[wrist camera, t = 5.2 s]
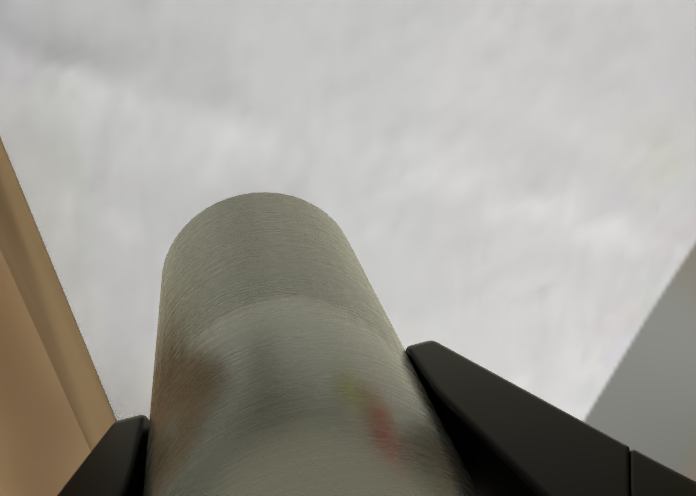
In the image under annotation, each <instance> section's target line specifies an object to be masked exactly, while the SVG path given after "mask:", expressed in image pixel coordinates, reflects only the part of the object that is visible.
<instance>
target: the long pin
mask: <svg viewBox="0 0 696 496" xmlns="http://www.w3.org/2000/svg"><path fill="white" fill-rule="evenodd" d="M143 496H480V494H479V492H478V490H477V488H476V486H475V484H474V483H473V481H472V479H471V477H470V475H469V473H468V471H467V469H466V467H465V465H464V463H463V461H462V459H461V458H460V456H459V454H458V452H457V450H456V448H455V446H454V444H453V442H452V440H451V438H450V436H449V434H448V432H447V431H446V429H445V427H444V425H443V423H442V421H441V419H440V417H439V415H438V413H437V411H436V409H435V407H434V406H433V404H432V402H431V400H430V398H429V396H428V394H427V392H426V390H425V388H424V386H423V384H422V382H421V380H420V379H419V377H418V375H417V373H416V371H415V369H414V367H413V365H412V363H411V361H410V359H409V357H408V355H407V353H406V352H405V350H404V348H403V346H402V344H401V342H400V340H399V338H398V336H397V334H396V332H395V330H394V328H393V327H392V325H391V323H390V321H389V319H388V317H387V315H386V313H385V311H384V309H383V307H382V305H381V303H380V301H379V300H378V298H377V296H376V294H375V292H374V290H373V288H372V286H371V284H370V282H369V280H368V278H367V276H366V275H365V273H364V271H363V269H362V267H361V265H360V263H359V261H358V259H357V257H356V255H355V253H354V251H353V249H352V248H351V246H350V244H349V242H348V240H347V238H346V236H345V235H344V233H343V231H342V230H341V229H340V227H339V226H338V225H337V224H336V222H335V221H334V220H333V219H332V218H330V217H329V216H328V215H327V214H326V213H325V212H323V211H322V210H320V209H319V208H318V207H316V206H314V205H312V204H310V203H308V202H306V201H304V200H301V199H299V198H296V197H293V196H288V195H284V194H278V193H250V194H244V195H239V196H235V197H232V198H228V199H225V200H223V201H221V202H218V203H216V204H214V205H212V206H210V207H209V208H207V209H205V210H204V211H202V212H201V213H199V214H198V215H197V216H196V217H194V218H193V219H192V220H191V221H190V222H189V223H188V224H187V225H186V226H185V227H184V228H183V229H182V230H181V232H180V233H179V234H178V236H177V237H176V238H175V240H174V242H173V244H172V245H171V247H170V249H169V251H168V254H167V257H166V259H165V263H164V267H163V272H162V283H161V295H160V306H159V318H158V329H157V341H156V352H155V364H154V375H153V387H152V398H151V410H150V421H149V433H148V444H147V456H146V467H145V479H144V490H143Z"/></svg>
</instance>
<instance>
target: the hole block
mask: <svg viewBox="0 0 696 496" xmlns="http://www.w3.org/2000/svg"><path fill="white" fill-rule="evenodd" d="M115 422H116V419H115V416H114V414H113V411H112V409H111V406H110V404H109V401H108V399H107V397H106V394H105V392H104V389H103V387H102V384H101V382H100V380H99V377H98V375H97V372H96V370H95V367H94V365H93V363H92V360H91V358H90V355H89V353H88V350H87V348H86V345H85V343H84V341H83V338H82V336H81V333H80V331H79V328H78V326H77V324H76V321H75V319H74V316H73V314H72V311H71V309H70V307H69V304H68V302H67V299H66V297H65V294H64V292H63V289H62V287H61V285H60V282H59V280H58V277H57V275H56V272H55V270H54V268H53V265H52V263H51V260H50V258H49V255H48V253H47V251H46V248H45V246H44V243H43V241H42V238H41V236H40V233H39V231H38V229H37V226H36V224H35V221H34V219H33V216H32V214H31V212H30V209H29V207H28V204H27V202H26V199H25V197H24V195H23V192H22V190H21V187H20V185H19V182H18V180H17V177H16V175H15V173H14V170H13V168H12V165H11V163H10V160H9V158H8V156H7V153H6V151H5V148H4V146H3V143H2V141H1V139H0V496H57V495H58V494H59V492H60V491H61V490H62V488H63V487H64V486H65V485H66V483H67V482H68V481H69V479H70V478H71V477H72V476H73V474H74V473H75V472H76V470H77V469H78V468H79V467H80V465H81V464H82V463H83V461H84V460H85V459H86V458H87V456H88V455H89V454H90V452H91V451H92V450H93V449H94V447H95V446H96V445H97V443H98V442H99V441H100V440H101V438H102V437H103V436H104V434H105V433H106V432H107V431H108V429H109V428H110V427H111V426H112V424H114V423H115Z"/></svg>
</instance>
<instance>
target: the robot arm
mask: <svg viewBox="0 0 696 496" xmlns="http://www.w3.org/2000/svg"><path fill="white" fill-rule="evenodd" d="M405 352H406V353H407V355H408V357H409V359H410V361H411V363H412V365H413V367H414V369H415V371H416V373H417V375H418V377H419V379H420V380H421V382H422V384H423V386H424V388H425V390H426V392H427V394H428V396H429V398H430V400H431V402H432V404H433V406H434V407H435V409H436V411H437V413H438V415H439V417H440V419H441V421H442V423H443V425H444V427H445V429H446V431H447V432H448V434H449V436H450V438H451V440H452V442H453V444H454V446H455V448H456V450H457V452H458V454H459V456H460V458H461V459H462V461H463V463H464V465H465V467H466V469H467V471H468V473H469V475H470V477H471V479H472V481H473V483H474V484H475V486H476V488H477V490H478V492H479V494H480V496H696V482H695V481H693V480H691V479H690V478H687V477H686V476H684V475H682V474H680V473H678V472H676V471H674V470H672V469H670V468H668V467H666V466H664V465H662V464H660V463H658V462H657V461H655V460H653V459H651V458H649V457H647V456H646V455H644V454H642V453H640V452H638V451H636V450H631V451H630V449H629V447H628V446H627V445H625V444H623V443H621V442H619V441H618V440H616V439H614V438H612V437H610V436H608V435H607V434H605V433H603V432H601V431H599V430H597V429H596V428H594V427H591V426H590V425H588V424H586V423H584V422H583V421H581V420H579V419H577V418H575V417H573V416H572V415H570V414H568V413H566V412H564V411H562V410H561V409H559V408H557V407H555V406H553V405H551V404H550V403H548V402H546V401H544V400H542V399H540V398H538V397H537V396H535V395H533V394H531V393H529V392H527V391H526V390H524V389H522V388H520V387H518V386H516V385H515V384H513V383H511V382H509V381H507V380H505V379H503V378H502V377H500V376H498V375H496V374H494V373H492V372H491V371H489V370H487V369H485V368H483V367H481V366H480V365H478V364H476V363H474V362H472V361H470V360H469V359H467V358H465V357H463V356H461V355H459V354H457V353H456V352H454V351H452V350H450V349H448V348H446V347H445V346H443V345H441V344H439V343H437V342H435V341H426V342H423V343H419V344H415V345H411V346H408V347H407V349H406V351H405ZM148 433H149V419H148V418H147V417H146V416H144V415H138V416H134V417H131V418H127V419H123V420H119V421H116V422H115V423H114V424H112V426H111V427H110V428H109V429H108V431H107V432H106V433H105V434H104V436H103V437H102V438H101V440H100V441H99V442H98V443H97V445H96V446H95V447H94V449H93V450H92V451H91V452H90V454H89V455H88V456H87V458H86V459H85V460H84V461H83V463H82V464H81V465H80V467H79V468H78V469H77V470H76V472H75V473H74V474H73V476H72V477H71V478H70V479H69V481H68V482H67V483H66V485H65V486H64V487H63V488H62V490H61V491H60V492H59V494H58V495H57V496H143V490H144V479H145V467H146V456H147V444H148Z"/></svg>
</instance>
